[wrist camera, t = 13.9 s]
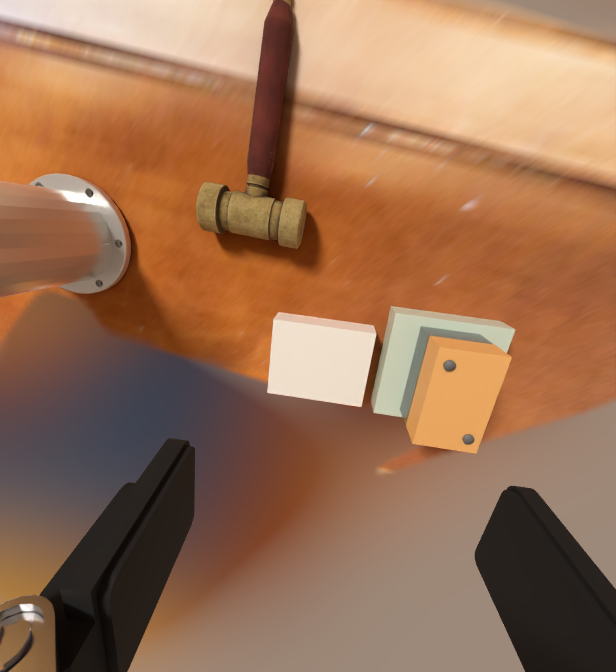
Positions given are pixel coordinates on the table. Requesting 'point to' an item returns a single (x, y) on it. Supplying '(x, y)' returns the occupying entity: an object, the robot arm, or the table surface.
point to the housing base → (419, 357)
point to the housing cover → (456, 393)
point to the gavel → (260, 152)
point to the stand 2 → (403, 343)
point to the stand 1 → (320, 358)
